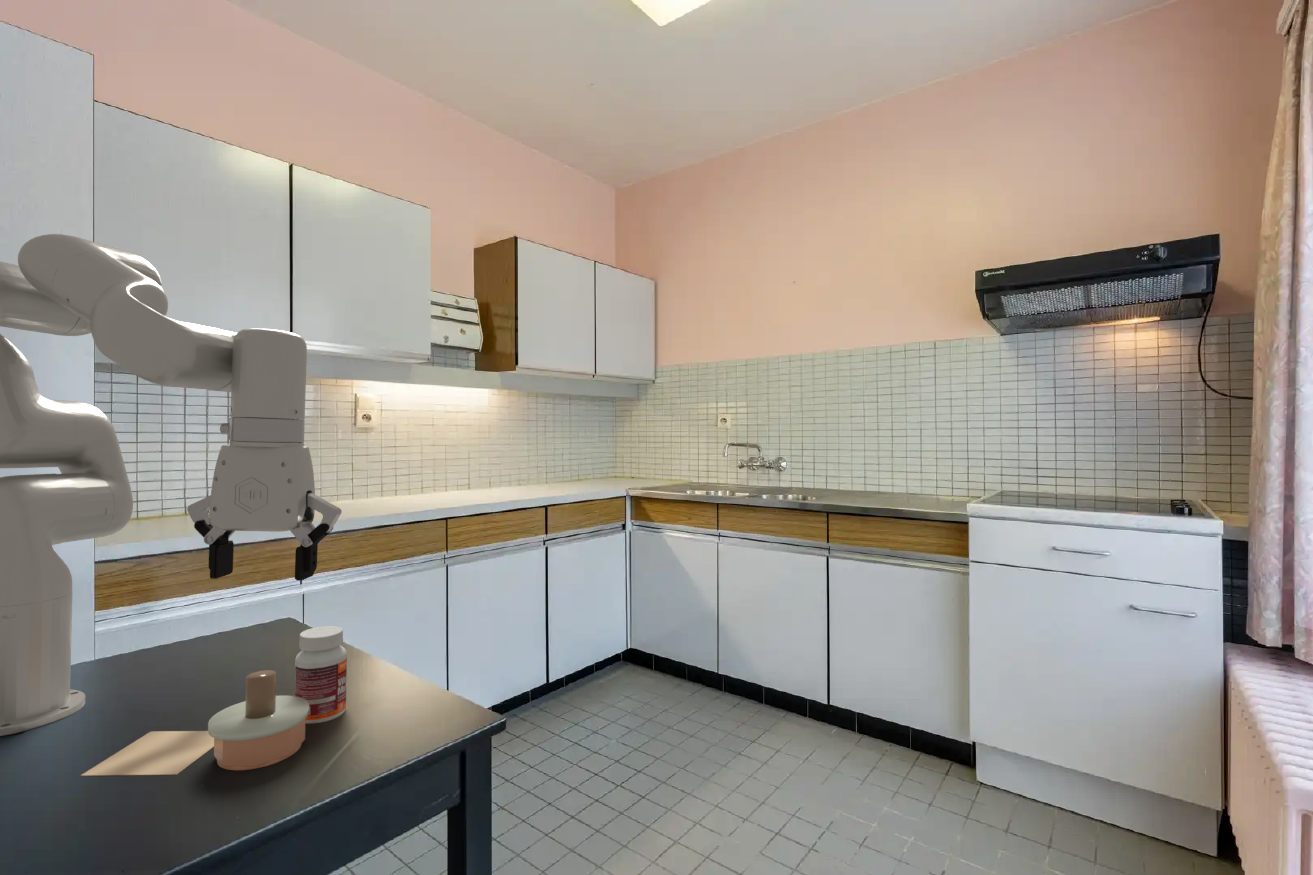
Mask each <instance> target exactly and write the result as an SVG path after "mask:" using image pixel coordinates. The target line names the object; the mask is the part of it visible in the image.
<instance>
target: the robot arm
mask: <svg viewBox="0 0 1313 875" xmlns="http://www.w3.org/2000/svg"><path fill="white" fill-rule="evenodd" d="M168 300H169V299H168V297H167V294H166V293H165V291H164V289H163V283H162V278H161V276H160V274H159V271H157V269H156V268H155V267H154V266H153V264H151V263H150V262H149V261H148V260H146V259H145V258H144V257H143V256H140V255H137V254H135V253H132V252H129V251H125V250H123V249H118V248H116V247H112V246H108V245H106V244H101V243H100V242H99V243H98V242H95V241H92V240H89V239H85V238H81V237H77V236H73V235H68V234H61V233H51V234H49V233H48V234H41V235H38V236H35V237H33V238H31V239H29V240H27V241H26V242H25V243H24V244H23V245H21V248H20V250H19V251H18V254H17V264H13V263H8V262H4V261H0V327H3V328H9V329H15V330H20V331H22V330H23V331H28V332H36V333H42V334H49V335H56V336H63V337H79V336H84V335H90V334H91V337H92V339H93V342H94V344H95V346H96V347H97V349H98V351H100V353H101V354H102V355H104V356H105V357H106V358H107V359H109V360H110V361H112V362H113V363H115V364H117V366H119V367H121V368H123V369H124V370H126V371H128V372H130V373H131V374H133V375H135V376H136V377H138V378H140V379H143V381H144V380H145V381H147V382H150V383H152V384H155V385H160V386H164V387H172V388H184V389H185V388H186V389H196V390H207V391H211V392H212V391H214V392H225V393H226V392H227V393H230V395H231V396H230V417H229V418H228V419H229V420H228V423H227V422H222V423H221V424H220V427H219V431H220V433H221V434H222V435H228V440H229V444H222V445H221V447H220V449H219V453H218V455H217V459H216V463H215V467H214V472H213V478H212V484H211V490H210V495H209V496H206V497H204V498H202V499H200V500H198V501H196V502H193V503H191V504H190V505H188V506H187V508H186V511H187V513H188V514H189V517H190V519H191V521H192V522H193V523H194V525H193V527H194V529H195V530H196V531H197V532H198V533H199V535H200V536H201V537H203V543H204V544H206V545H208V569H209V579H220V578H222V577H225V576H227V575H228V576H229V575H231V574H232V573H233V570H234V549H235V548H234V546H235V545H234V544H235V543H234V542H233V540H230V539H229V538H230V537H232V535H233V534H234V533H235V532H237V531H238V532H272V533H274V532H276V533H277V532H288V531H290V532H291V534H293V536H294V537H295V539H296V540H297V541H298V542H299V544H300V546H296V548H295V558H294V559H295V560H294V561H295V562H294V579H295V580H296V581H301V582H302V581H304V580H306V579H309V578H311V577H313V576H314V575H315V572H316V570H317V568H318V549H319V548H318V546H319V545H318V544H320V543H322V541H323V540H324V539H325V538H326V537H327V536H328V535H329V534H330V533H331V532H332V531H333V529H334V526H335V525H336V523H337V522H338V520H339V518H340V517H341V514H342V509H341V508H340V507H339V506H336V505H335V504H333V503H331V502H329V501H327V500H325V499H324V498H322V497H320V496H318V495H316V488H315V475H314V469H313V468H314V466H313V461H312V456H311V452H310V447H309V446H305V444H304V442H305V419H306V418H305V416H306V387H307V386H306V384H307V360H308V359H307V358H308V357H307V356H308V354H307V353H308V352H307V351H308V348H307V343H306V341H305V339H304V337H302V336H301V335H299V334H296V333H294V332H290V331H286V330H279V329H271V328H257V327H256V328H255V327H254V328H251V327H250V328H245V329H241V330H239V331H237V332H234V331H230V330H226V329H225V330H224V329H220V328H217V327H213V326H212V327H211V326H206V325H201V324H197V323H192V322H186V321H180V320H176V319H173V318H170V317H168V316H167V314H168V310H169V301H168ZM31 468H34V469H36V468H58V469H59V472H60V473H36V474H18V475H17V474H15V475H7V476H1V477H0V737H3V736H8V735H13V734H17V733H21V732H22V733H23V732H26V731H30V730H32V729H35V728H39V727H42V726H45V725H49V724H53V723H54V722H57V721H59V720H62V719H65V718H67V717H68V716H71V715H73V714H74V713H77V712H78V711H79V710H81V709H82V708H83V707H84V706H85V704H86V694H85V693H84V691H83V692H82V691H81V690H78V689H71V677H72V676H71V672H72V671H71V670H72V667H71V666H72V665H71V664H72V624H73V623H72V622H73V621H72V620H73V619H72V618H73V578H72V573H71V570H70V569H69V566H68V565H67V564H66V562H65V561H64V560H63V559H62V558H61V557H60V556H59V554H58V553H57V552H56V551H55V550H54V548H53V546H54V545H58V544H59V545H61V544H62V543H70V542H77V541H78V542H79V541H83V540H90V539H98V538H102V537H103V538H104V537H107V536H110V535H111V536H112V535H113V534H116V533H117V532H120V531H122V529H123V528H125V527H126V526H127V525H128V523H129V522H130V520H131V517H132V515H133V511H134V500H133V492H132V488H131V485H130V481H129V476H128V474H127V469H126V465H125V462H124V458H123V454H122V450H121V447H120V443H119V439H118V436H117V433H116V430H115V427H114V424H113V423H112V422H111V420H110V418H109V417H107V415H106V413H104V412H103V411H102V410H101V409H100V408H98V407H97V406H94V405H92V404H90V403H86V402H81V401H74V400H62V399H48V398H46V397H44V396H43V395H42V394H41V392H40V391H39V388H38V385H37V382H36V378H35V373H34V370H33V367H32V365H31V363H30V361H29V360H28V359H27V357H25V356H24V354H23V353H22V352H21V351H20V350H19V349H18V347H16V345H15V344H13V343H12V342H11V341H10V340H9V339H8V338H6V337H5V336H4V335H3V334H1V333H0V469H31ZM315 512H318V513H320V514H321V515H322V519H321V522H320V523H319V524H318V525H317V526H316V527H315V525H314V524H313V521H314V518H315Z"/></svg>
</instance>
